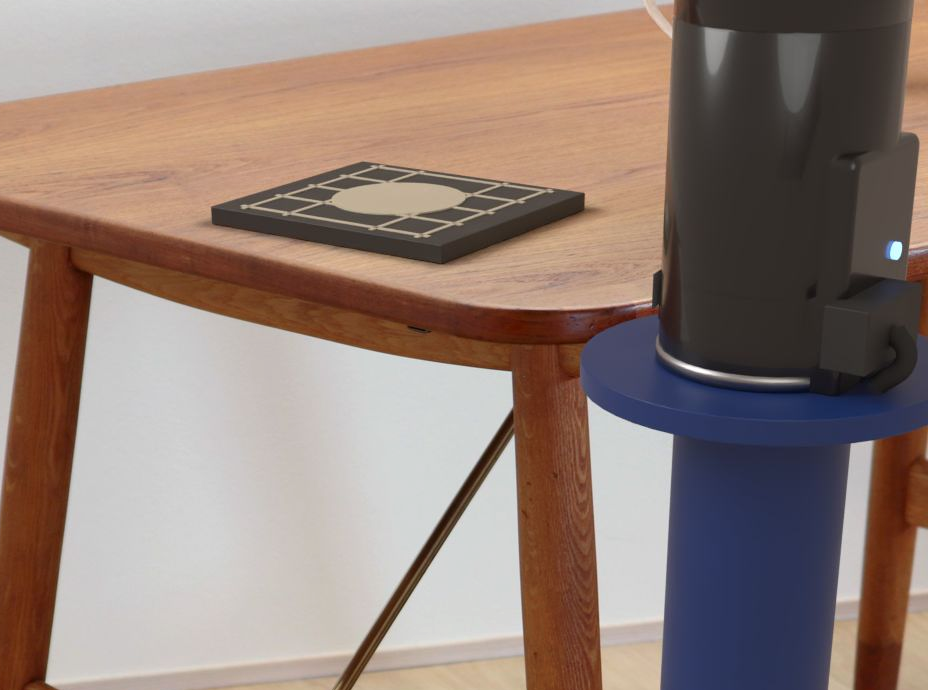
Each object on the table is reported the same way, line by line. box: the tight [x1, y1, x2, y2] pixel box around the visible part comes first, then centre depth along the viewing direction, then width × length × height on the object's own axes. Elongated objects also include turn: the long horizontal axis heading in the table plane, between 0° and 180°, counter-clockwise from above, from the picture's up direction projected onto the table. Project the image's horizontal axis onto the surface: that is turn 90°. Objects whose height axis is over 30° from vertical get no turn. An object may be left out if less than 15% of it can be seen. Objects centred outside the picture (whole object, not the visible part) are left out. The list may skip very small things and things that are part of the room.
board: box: [210, 160, 586, 265], centre depth 109 cm, size 16×14×1 cm
